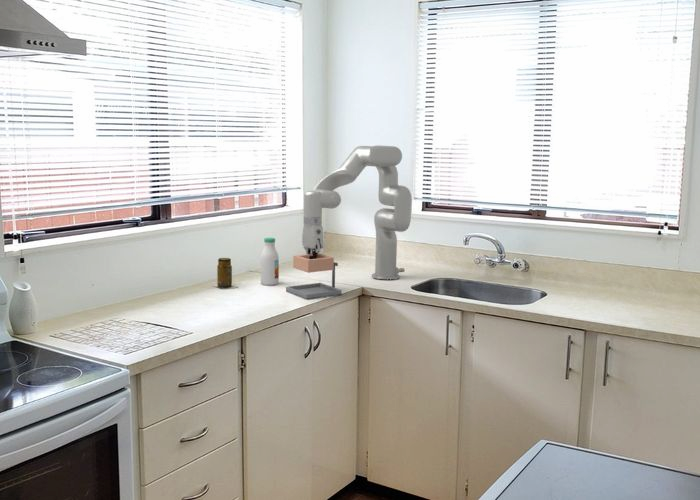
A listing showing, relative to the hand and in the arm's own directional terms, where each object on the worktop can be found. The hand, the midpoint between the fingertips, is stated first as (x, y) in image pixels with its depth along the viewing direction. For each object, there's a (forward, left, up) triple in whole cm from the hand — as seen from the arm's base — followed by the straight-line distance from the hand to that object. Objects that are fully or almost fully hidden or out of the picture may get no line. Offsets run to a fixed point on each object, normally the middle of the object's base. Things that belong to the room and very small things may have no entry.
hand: (311, 264), depth 317 cm
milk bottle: (+9, -20, -11) cm, 24 cm away
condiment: (+28, -24, -11) cm, 38 cm away
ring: (+2, +5, -1) cm, 6 cm away
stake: (-10, +1, -11) cm, 15 cm away
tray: (+2, +5, -11) cm, 12 cm away
